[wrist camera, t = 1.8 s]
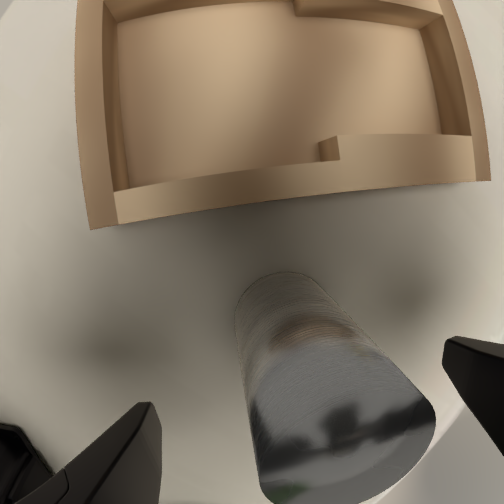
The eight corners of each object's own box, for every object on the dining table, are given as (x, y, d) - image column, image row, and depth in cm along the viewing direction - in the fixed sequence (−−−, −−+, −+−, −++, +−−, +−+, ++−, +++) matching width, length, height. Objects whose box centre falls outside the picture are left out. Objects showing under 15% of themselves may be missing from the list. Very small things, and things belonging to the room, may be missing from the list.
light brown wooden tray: (113, 220, 12) (90, 230, 9) (98, 16, 10) (78, -11, 7) (455, 178, 13) (490, 180, 10) (420, 7, 11) (447, -13, 8)
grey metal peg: (242, 367, 14) (269, 525, 6) (227, 280, 13) (245, 419, 5) (330, 350, 14) (417, 481, 6) (326, 264, 13) (450, 364, 5)
